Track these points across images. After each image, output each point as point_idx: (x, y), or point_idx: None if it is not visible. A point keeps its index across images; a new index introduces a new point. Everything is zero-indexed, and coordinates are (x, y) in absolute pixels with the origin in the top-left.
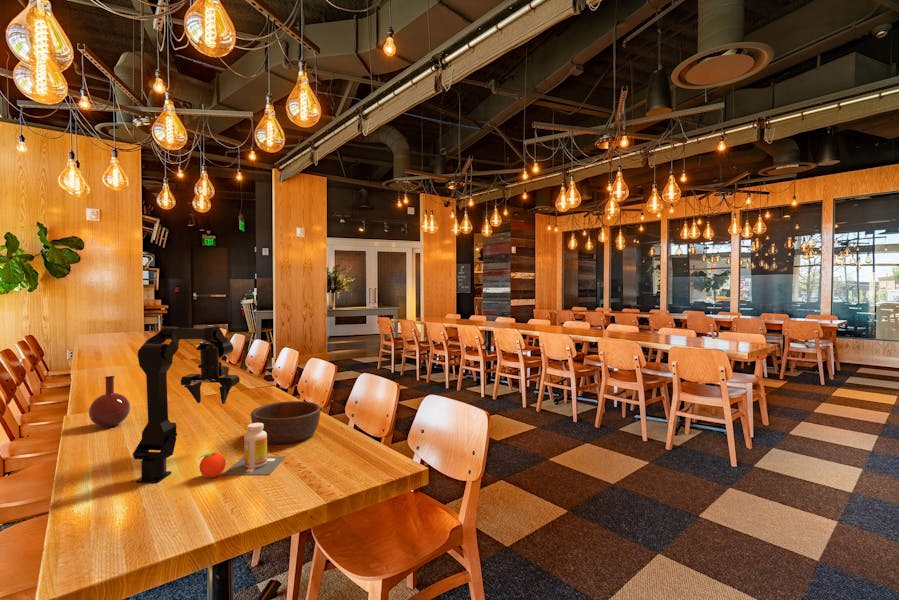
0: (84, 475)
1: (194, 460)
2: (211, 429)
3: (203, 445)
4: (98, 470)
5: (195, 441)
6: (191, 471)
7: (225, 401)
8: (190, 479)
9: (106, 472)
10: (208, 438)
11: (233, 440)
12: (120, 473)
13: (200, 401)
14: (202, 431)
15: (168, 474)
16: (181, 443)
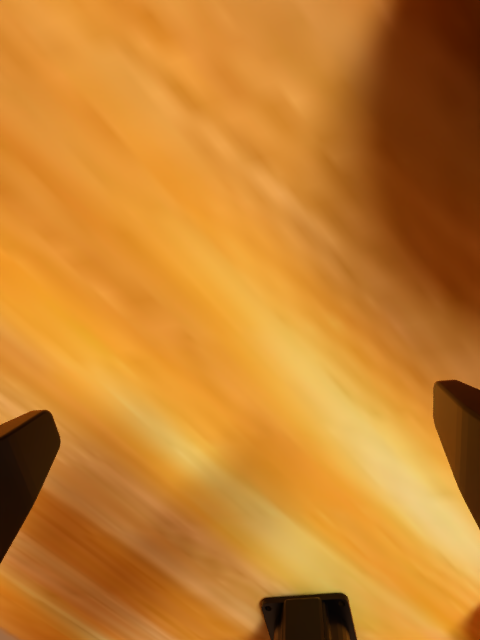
0: (57, 622)
1: (340, 477)
2: (34, 7)
3: (230, 301)
4: (56, 590)
5: (134, 255)
6: (415, 570)
7: (475, 390)
8: (465, 625)
9: (100, 600)
10: (166, 188)
11: (355, 179)
12: (155, 603)
13: (40, 415)
14: (15, 71)
15: (350, 612)
16: (88, 300)
